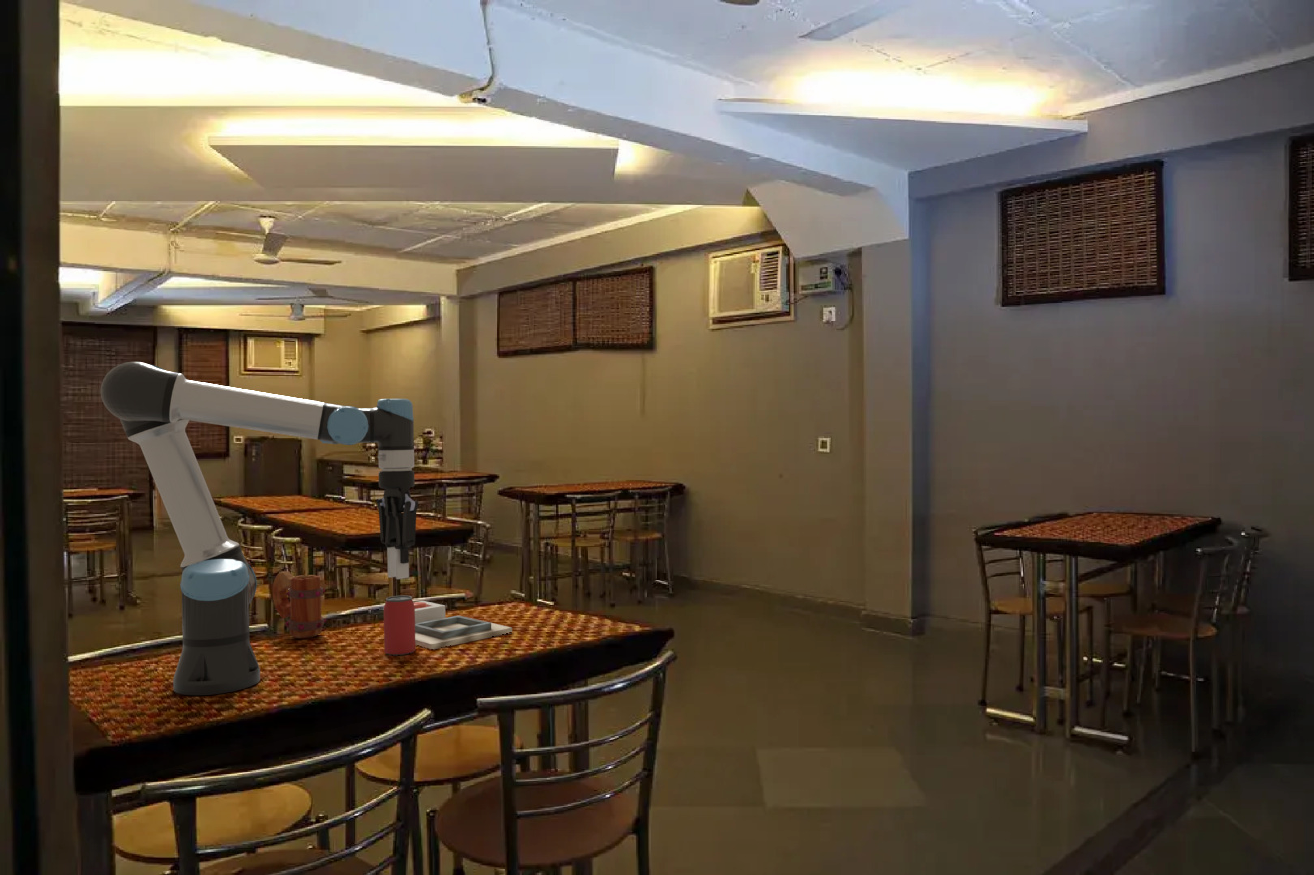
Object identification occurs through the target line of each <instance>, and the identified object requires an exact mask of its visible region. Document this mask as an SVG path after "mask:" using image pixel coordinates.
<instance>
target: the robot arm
mask: <svg viewBox="0 0 1314 875" xmlns="http://www.w3.org/2000/svg"><path fill="white" fill-rule="evenodd" d="M100 396H101V400H102V403H103V405H104V407H105V408H106V409H107V411H109V412H110V413H111V415H113V416H114V417H116V418H118V419H119V420H120V423H121V425H122V428H123V431H124V433H125V435H126V437H127V439H128V440H129V441H131V442H133V443H136V444H137V445H139V447H140V448H141V451H142V454H143V456H144V459H145V461H146V463H147V466H148V469H149V471H150V474H151V476H152V478H153V480H154V483H155V485H156V489H157V491H158V493H159V495H160V498H161V500H162V502H163V505H164V507H165V510H166V512H167V515H168V517H169V520H170V522H171V524H172V527H173V530H174V532H175V534H176V536H177V539H178V541H179V544H180V546H181V549H182V552H183V554H184V557H183V558H182V559H183V560H182V561H181V563H180V566H179V567H180V568H181V571H182V572H181V573H182V574H181V580H180V583H179V585H180V591H181V617H182V618H181V621H182V623H181V624H182V626H181V628H182V650H181V653H180V656H179V660H178V662H177V665H176V670H175V672H174V675H173V680H172V681H173V682H172V684H173V685H172V686H173V692H175V693H176V694H177V695H178V694H179V695H185V696H210V695H212V696H213V695H219V694H221V695H222V694H225V693H226V694H227V693H231V692H237V691H240V690H243V689H246V688H250V687H252V686H254V685H257V684H258V683H259V682H260V681H261V669H260V665H259V663H258V660H257V658H256V655H255V653H254V650H253V648H252V645H251V641H250V607H249V606H250V604H251V602H252V601H253V599H254V597H255V595H256V592H257V582H258V581H257V576H256V573H255V571H254V569H253V568H252V567H251V565H250V564H249V563H248V562H247V559H246V558H245V557H246V556H245V555H244V553H243V549H242V548H241V545H240V544H239V542H238V541H237V542H236V541H234V540H232V539H231V538H229V537H228V535H227V531H226V529H225V527H224V524H223V521H222V519H221V516H220V515H219V512H218V510H217V509H218V508H217V507H216V505H215V501H214V500H213V497H212V495H211V492H210V489H209V488H208V485H207V482H206V480H205V477H204V475H203V473H202V469H201V468H200V465H199V463H198V459H197V458H196V454H195V452H194V449H193V447H192V445H191V443H190V440H189V438H188V435H187V433H186V428H187V426H188V424H189V422H190V421H191V422H197V423H198V422H199V423H204V424H205V423H206V424H212V425H219V426H225V427H230V428H231V427H232V428H238V429H244V430H253V431H259V432H266V433H272V434H279V435H285V436H291V437H298V438H305V439H311V440H312V439H313V440H319V441H320V442H321V443H322V444H333V445H346V446H347V445H348V446H353V445H356V444H363V443H364V444H367V443H369V444H370V443H371V444H373V443H377V446H378V448H377V450H378V455H377V459H378V468H379V469H381V470H380V471H379V472H378V487H379V488H380V489H383V490H384V492H383V497H382V498H378V499H376V505H377V509H378V519H379V520H378V521H379V532H380V533H379V534H380V543H381V544H384V545H385V547H386V553H387V555H386V556H387V557H386V558H387V577H388V578H390V579H391V578H395V579H396V580H402V579H409V578H410V566H409V565H410V563H409V562H410V551H409V550H410V548H411V547H412V546H415V545H416V531H417V529H416V528H417V511H418V507H419V501H418V500H413V499H412V497H411V496H412V495H411V492H410V489H411V488H413V487H415V482H416V481H415V471H414V470H412V469H413V468H415V450H414V449H415V448H414V446H415V442H414V441H415V439H414V438H415V436H414V434H415V433H414V432H415V431H414V425H415V423H414V422H415V419H414V409H413V408H414V407H413V406H414V405H413V402H412V401H411V400H410V399H408V398H380V399H378V401H377V405H376V407H373V408H372V407H371V408H370V407H369V408H358V407H356V406H352V405H342V404H341V405H340V404H335V403H327V402H321V401H317V400H311V399H306V398H304V399H303V398H297V397H292V396H288V395H287V396H286V395H280V394H273V393H268V392H261V391H256V390H250V389H245V388H244V389H242V388H237V387H233V386H232V387H231V386H225V385H219V384H213V383H208V382H201V381H195V380H189V379H187V378H186V376H185V375H184V374H183V373H180V372H173V371H169V370H165V369H164V368H162V367H159V366H158V365H154V364H148V363H145V362H141V361H129V362H127V361H126V362H124V363H121V364H118V365H116V366H114V367H113V368H112V369H110V370H109V371H108V372H107V373H106V375H104V378H103V380H102V383H101V386H100Z"/></svg>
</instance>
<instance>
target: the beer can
mask: <svg viewBox="0 0 1314 875" xmlns="http://www.w3.org/2000/svg"><path fill="white" fill-rule="evenodd" d="M413 602H414V601H413V596H412V595H395V596H394V595H393V596H388V597H386V598H385V603H384V606H383V637H384V638H383V641H384V642H383V643H384V644H383V645H384V646H383V647H384V653H385V654H386V655H388V656H392V655H393V656H394V657H397V656H398V655H400V656H406V655H405V654H407V655H410V654H412V653H414V652H415V650H416V645H415V606H414V603H413ZM409 653H410V654H409ZM398 657H399V656H398Z"/></svg>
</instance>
